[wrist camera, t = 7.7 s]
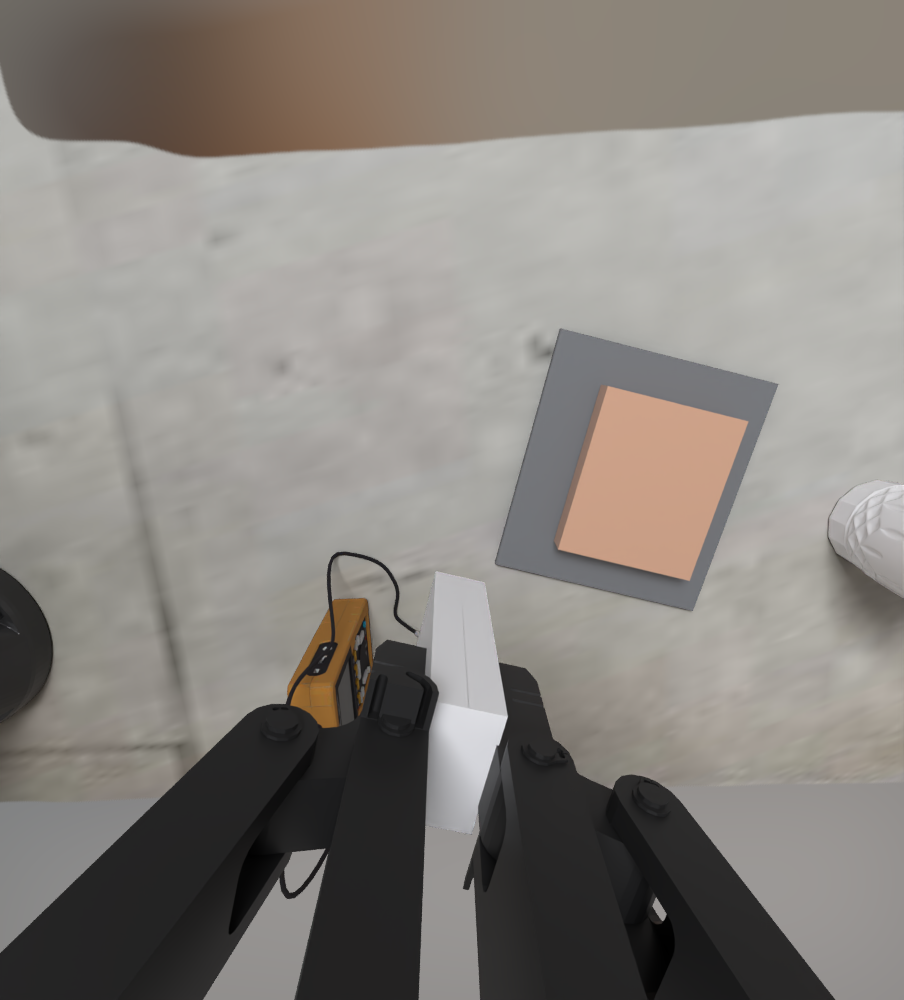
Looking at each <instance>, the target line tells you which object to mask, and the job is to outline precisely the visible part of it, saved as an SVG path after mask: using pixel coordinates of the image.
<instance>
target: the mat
mask: <svg viewBox="0 0 904 1000" xmlns="http://www.w3.org/2000/svg"><path fill="white" fill-rule="evenodd" d="M601 385H606V386H610V387H614V388H618V389H622V390H626V391H630V392H634V393H638V394H642V395H646V396H650V397H654V398H658V399H662V400H666V401H670V402H674V403H677V404H681V405H685V406H689V407H693V408H697V409H701V410H705V411H709V412H713V413H717V414H721V415H725V416H729V417H733V418H737V419H741V420H745V421H749V422H748V424H747V427H746V430H745V432H744V435H743V438H742V441H741V443H740V446H739V449H738V451H737V454H736V457H735V459H734V462H733V465H732V468H731V470H730V473H729V476H728V478H727V481H726V484H725V486H724V489H723V492H722V495H721V497H720V500H719V503H718V505H717V508H716V511H715V514H714V516H713V519H712V522H711V524H710V527H709V530H708V532H707V535H706V538H705V541H704V543H703V546H702V549H701V551H700V554H699V557H698V559H697V562H696V565H695V568H694V570H693V573H692V576H691V578H690V581H688V580H684V579H680V578H675V577H671V576H667V575H663V574H659V573H654V572H650V571H646V570H642V569H638V568H633V567H629V566H625V565H621V564H617V563H612V562H608V561H604V560H600V559H596V558H592V557H587V556H583V555H579V554H575V553H571V552H566V551H562V550H558V548H557V546H556V544H555V542H554V539H555V535H556V532H557V529H558V525H559V522H560V519H561V515H562V512H563V509H564V505H565V502H566V499H567V495H568V492H569V489H570V486H571V482H572V479H573V476H574V472H575V469H576V466H577V462H578V459H579V456H580V452H581V449H582V446H583V443H584V439H585V436H586V433H587V429H588V426H589V423H590V419H591V416H592V413H593V409H594V406H595V403H596V400H597V396H598V393H599V390H600V386H601ZM777 386H778V384H776V383H772V382H768V381H764V380H760V379H756V378H752V377H748V376H744V375H741V374H737V373H733V372H729V371H725V370H721V369H717V368H713V367H709V366H705V365H701V364H697V363H694V362H690V361H686V360H682V359H678V358H674V357H670V356H666V355H662V354H658V353H654V352H650V351H646V350H643V349H639V348H635V347H631V346H627V345H623V344H619V343H615V342H611V341H607V340H603V339H599V338H596V337H592V336H588V335H584V334H580V333H576V332H572V331H568V330H564V329H560V330H559V334H558V337H557V341H556V345H555V348H554V352H553V355H552V359H551V363H550V366H549V370H548V373H547V377H546V380H545V384H544V388H543V391H542V395H541V398H540V402H539V406H538V409H537V413H536V416H535V420H534V424H533V427H532V431H531V434H530V438H529V442H528V445H527V449H526V452H525V456H524V460H523V463H522V467H521V470H520V474H519V478H518V481H517V485H516V488H515V492H514V496H513V499H512V503H511V506H510V510H509V513H508V517H507V521H506V524H505V528H504V531H503V535H502V539H501V542H500V546H499V549H498V553H497V557H496V560H495V564H497V565H501V566H505V567H509V568H513V569H518V570H522V571H526V572H530V573H535V574H539V575H543V576H547V577H552V578H556V579H560V580H564V581H568V582H573V583H577V584H581V585H585V586H590V587H594V588H598V589H602V590H607V591H611V592H615V593H619V594H623V595H628V596H632V597H636V598H640V599H645V600H649V601H653V602H657V603H662V604H666V605H670V606H674V607H678V608H683V609H687V610H691V611H693V609H694V606H695V604H696V601H697V599H698V596H699V593H700V591H701V588H702V585H703V583H704V580H705V577H706V575H707V572H708V569H709V567H710V564H711V561H712V559H713V556H714V553H715V551H716V548H717V545H718V543H719V540H720V537H721V535H722V532H723V530H724V527H725V524H726V522H727V519H728V516H729V514H730V511H731V508H732V506H733V503H734V500H735V498H736V495H737V492H738V490H739V487H740V484H741V482H742V479H743V476H744V474H745V471H746V469H747V466H748V463H749V461H750V458H751V455H752V453H753V450H754V447H755V445H756V442H757V439H758V437H759V434H760V431H761V429H762V426H763V423H764V421H765V418H766V415H767V413H768V410H769V408H770V405H771V402H772V400H773V397H774V394H775V392H776V389H777Z"/></svg>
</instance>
